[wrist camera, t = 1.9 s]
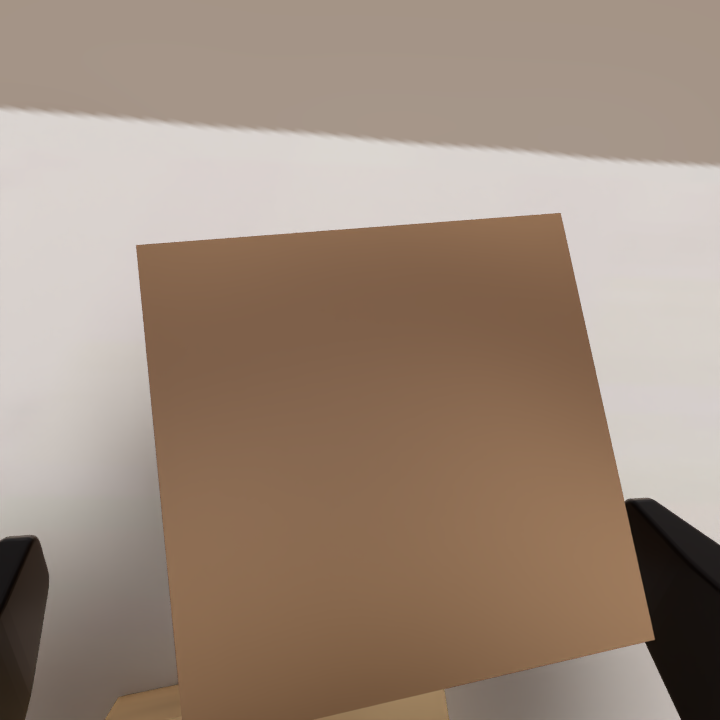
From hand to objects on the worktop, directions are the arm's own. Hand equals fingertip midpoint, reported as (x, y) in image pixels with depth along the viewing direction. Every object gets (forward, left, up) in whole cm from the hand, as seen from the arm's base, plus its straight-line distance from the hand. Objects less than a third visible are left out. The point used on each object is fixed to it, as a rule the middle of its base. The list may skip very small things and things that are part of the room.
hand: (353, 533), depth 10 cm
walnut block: (+1, 0, -9) cm, 9 cm away
